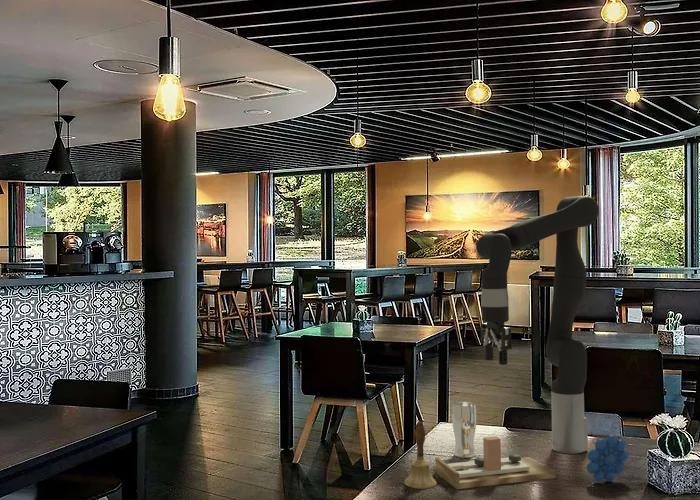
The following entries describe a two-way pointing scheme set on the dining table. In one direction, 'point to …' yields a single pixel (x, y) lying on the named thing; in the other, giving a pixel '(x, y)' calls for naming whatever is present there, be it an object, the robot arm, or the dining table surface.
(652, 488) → the dining table surface
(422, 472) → the hand bell
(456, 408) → the beer glass
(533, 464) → the boss board
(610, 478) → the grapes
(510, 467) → the panel
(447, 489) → the dining table surface
